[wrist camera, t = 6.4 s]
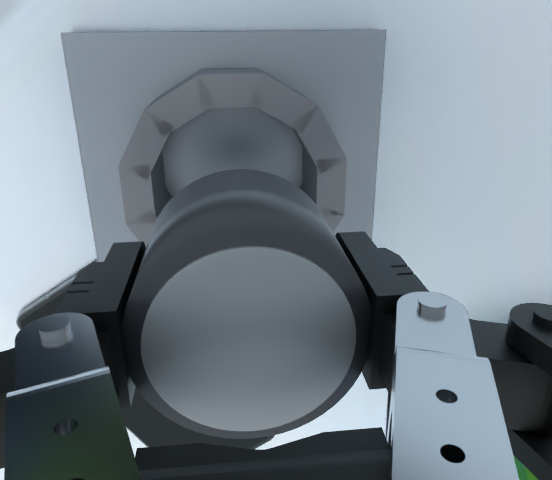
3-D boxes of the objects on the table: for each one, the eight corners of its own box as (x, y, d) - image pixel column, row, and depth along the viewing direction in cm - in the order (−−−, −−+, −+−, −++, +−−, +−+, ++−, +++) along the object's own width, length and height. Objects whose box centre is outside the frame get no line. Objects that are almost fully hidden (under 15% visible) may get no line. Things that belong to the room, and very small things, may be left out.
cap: (335, 165, 13) (385, 222, 9) (328, 330, 15) (367, 435, 11) (138, 172, 12) (101, 234, 8) (157, 341, 14) (135, 455, 10)
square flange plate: (376, 30, 23) (419, 28, 18) (361, 260, 28) (393, 310, 23) (70, 33, 22) (25, 31, 17) (108, 273, 27) (81, 329, 22)
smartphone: (188, 488, 33) (8, 321, 26) (189, 474, 33) (15, 311, 27) (281, 435, 32) (117, 249, 25) (280, 423, 33) (121, 241, 26)
